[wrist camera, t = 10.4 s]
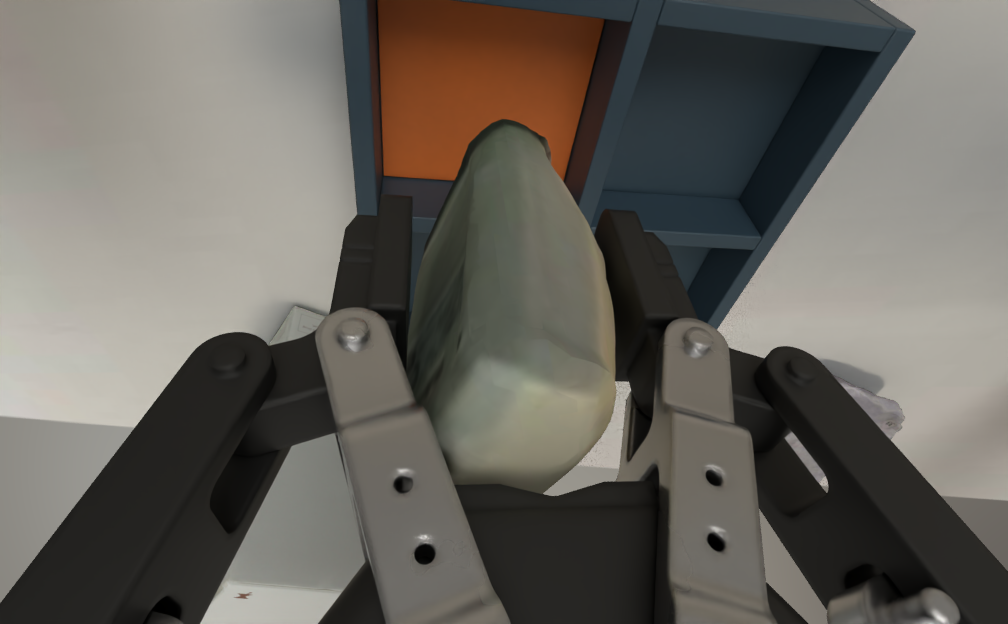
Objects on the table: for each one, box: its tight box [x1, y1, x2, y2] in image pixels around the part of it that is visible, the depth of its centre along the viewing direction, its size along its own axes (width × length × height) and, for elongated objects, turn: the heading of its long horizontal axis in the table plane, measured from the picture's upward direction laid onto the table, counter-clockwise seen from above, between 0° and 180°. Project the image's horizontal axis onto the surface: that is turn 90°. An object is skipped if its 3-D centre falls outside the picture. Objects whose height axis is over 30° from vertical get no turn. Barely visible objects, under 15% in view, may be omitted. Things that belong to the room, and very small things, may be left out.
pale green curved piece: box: [406, 119, 616, 494], centre depth 11 cm, size 6×5×8 cm
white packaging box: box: [200, 306, 365, 624], centre depth 25 cm, size 7×7×13 cm
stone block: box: [785, 375, 905, 482], centre depth 36 cm, size 12×5×10 cm
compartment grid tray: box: [339, 0, 916, 333], centre depth 21 cm, size 16×16×3 cm
